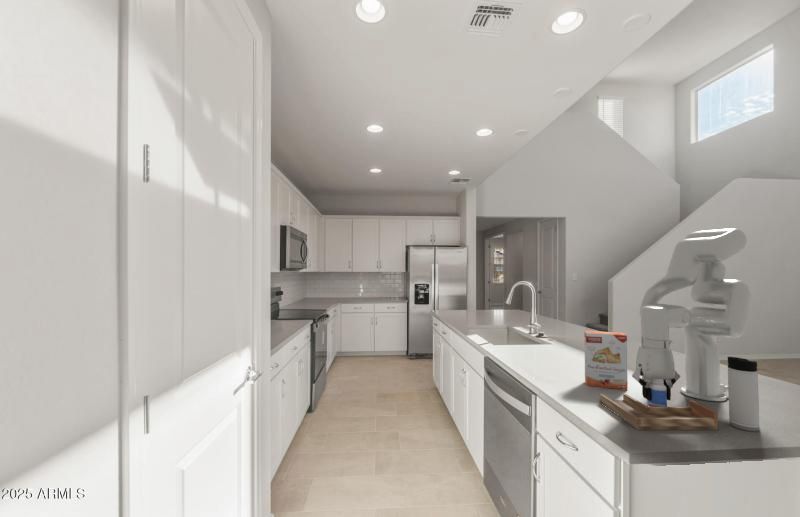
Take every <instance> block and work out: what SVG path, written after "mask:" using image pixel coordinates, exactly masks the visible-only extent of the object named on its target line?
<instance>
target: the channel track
mask: <svg viewBox="0 0 800 517" xmlns="http://www.w3.org/2000/svg"><path fill="white" fill-rule="evenodd" d="M622 398H623V399H611V398H609V397H608V396H606V395H605V394H604V393H599V404H600V405H602V404H603V405H604V406H603V405H602V406H603V407H605V406H606V407H607V408H606V407H605V408H606V409H608V408H609V409H610V410H609V409H608V410H609V411H611V410H612V411H613V412H615V413H616V414H618V415H619V416H620V417H622V418H623V419H625V420H626V421H627V422H629V423H630V424H631V425H630V424H629V423H628V424H629V425H630V426H632V427H633V426H634V427H633V428H635V429H636V430H637V429H638V430H639V431H646V430H647V431H649V430H650V431H651V430H652V431H666V430H667V431H699V430H700V431H718V430H719V421H718V420H719V419H718V411H715V410H713V409H712V408H710V407H708V406H706V405H703V404H701V403H699V402H697V401H694V400H692V399H689V400H688V406H667V407H648V406H647V404H644V403H642V402H640V401H639V400H637V399H635V398H634V397H632V396H630V395H629V394H627V393H623V394H622ZM612 411H611V412H612ZM613 412H612V413H613ZM615 413H614V414H615ZM616 414H615V415H616ZM618 415H617V416H618ZM619 416H618V417H619ZM620 417H619V418H620ZM622 418H621V419H622ZM623 419H622V420H623ZM625 420H624V421H625ZM626 421H625V422H626ZM627 422H626V423H627Z"/></svg>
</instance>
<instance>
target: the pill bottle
mask: <svg viewBox="0 0 800 517" xmlns="http://www.w3.org/2000/svg"><path fill="white" fill-rule="evenodd" d="M663 383H664V380H663V379H652V380H651V383H650V386H649V388H651V399H652V400H647V399H646V406H647V405H648V406H649V407H668V400H667V391H666V386H665V385H663Z"/></svg>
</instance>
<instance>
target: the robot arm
mask: <svg viewBox="0 0 800 517" xmlns="http://www.w3.org/2000/svg"><path fill="white" fill-rule="evenodd" d="M746 245H747V236H746V234H745V232H744V231H743V230H741V229H739V228H735V227H734V228H720V229H707V230H699V231H698V230H697V231H693V232H690V233H689V234H686V236H685V238H684V239H682V240H679V241H678V242H677V243H676V244H675V246H674V249H673V252H672V255H671V258H670V261H669V264H668V267H667V271H666V274H665V275H664V276H663V277H661V278H659V279H658V280H657V281H656V282H655V283H653V284H652V285H651V286H650V287H649V288H648V289H647V290H646V291H645V293H644V295H643V298H642V300H641V304H640V306H639V307H640V308H639V316H640V335H641V338H640V339H641V346H638V349H637V354H636V360H635V361H636V363H635V371H634V372H633V373H632V374H631V376H632V378H633V379H634V380H636V382H638V383H639V384H640V386H642V387H641V389H642V390H641V392H642V393H641V394H642V396H643V398H644V399H645V400H646V401H647V400H652V399H651V388H649V386H650V383H651V380H652V379H663V380H664V383H663V385H665V386H666V391H667V401H671V399H672V398H671V397H672V393H671V392H672V391H671V389H672V388H673V386H674V385H675V383H676V382H677V381H678V380H680V378H681V375H680V374H679V373H678V372H677V371H676V369H675V368H676V367H675V359H674V355H673V350H672V349H671V346H670V345H673V340H671V339H670V329H671V328H674V329H682V332H683V340H684V364H685V365H684V369H685V370H684V371H685V386H681V387H680V392H681V393H682V395H685V396H686V397H687V396H688V397H691V398H692V399H693V398H694V399H697V400H701V401H709V402H724V401H727V399H728V396H727V394H725V393H726V392H728V385H725V384H723V383H721V356H720V347H719V344H718V342H717V341H716V340H715V337H723V338H730V339H738V338H741V337H742V336H743V335H744V334H745V332H746V329H747V325H748V324H747V322H748V317H749V311H750V305H751V290H750V289H751V288H750V287H749V286H748V284H747V283H746V282H745V281H743V280H740V279H733V278H731V279H729V278H727V279H726V277H725V276H726V272H727V271H726V266H725V263H724V262H723V261H726V260H728V259H730V258H732V257H733V256H735V255H738V254H739V253H741V252H742V250H744V248H745V247H746ZM688 287H691V291H690V296H691V300H692V301H693V302H695V303H696V304H700V305H706V307H705V306H690V307H684V306H683V305H675V304H667V303H665V304H664V303H660V301H661V300H662V299H663V298H664V297H665V296H667V295H669V294H671V293H674V292H676V291H681V290H683V289H687V288H688ZM707 306H719V307H725V308H715V307H707ZM713 336H715V337H713Z"/></svg>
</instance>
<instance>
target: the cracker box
mask: <svg viewBox="0 0 800 517" xmlns="http://www.w3.org/2000/svg"><path fill="white" fill-rule="evenodd" d="M583 335H584V382H585V384H586V386H588V387H597V388H604V389H613V388H615V390H622V389H628V387H629V386H628V385H629V384H628V335H626V334H625V333H624V332H617V331H616V332H615V331H613V332H612V331H600V330H599V331H597V330H584V333H583Z"/></svg>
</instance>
